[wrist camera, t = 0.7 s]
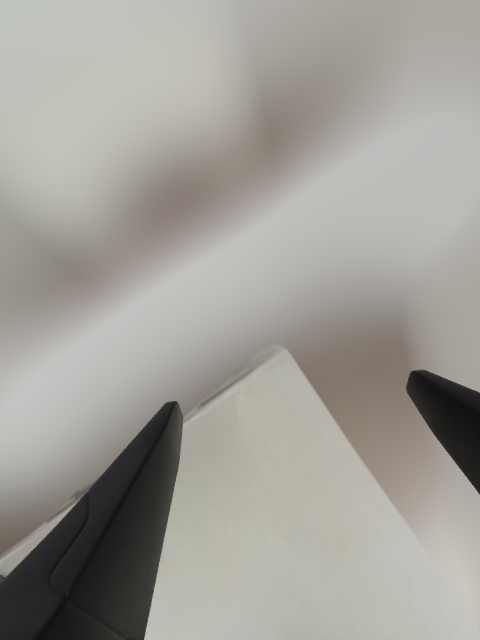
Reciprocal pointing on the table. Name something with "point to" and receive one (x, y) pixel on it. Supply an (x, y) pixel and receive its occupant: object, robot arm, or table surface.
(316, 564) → the table surface
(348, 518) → the table surface
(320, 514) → the table surface
